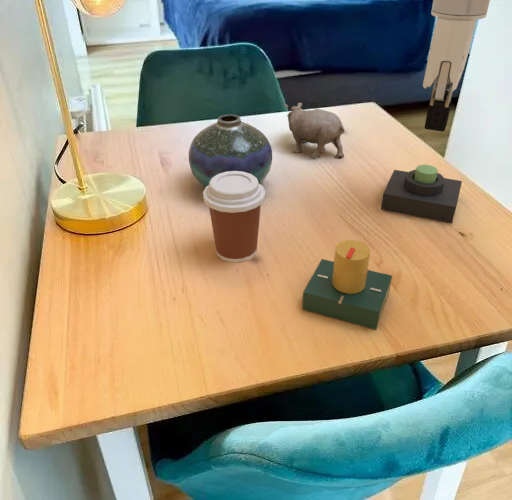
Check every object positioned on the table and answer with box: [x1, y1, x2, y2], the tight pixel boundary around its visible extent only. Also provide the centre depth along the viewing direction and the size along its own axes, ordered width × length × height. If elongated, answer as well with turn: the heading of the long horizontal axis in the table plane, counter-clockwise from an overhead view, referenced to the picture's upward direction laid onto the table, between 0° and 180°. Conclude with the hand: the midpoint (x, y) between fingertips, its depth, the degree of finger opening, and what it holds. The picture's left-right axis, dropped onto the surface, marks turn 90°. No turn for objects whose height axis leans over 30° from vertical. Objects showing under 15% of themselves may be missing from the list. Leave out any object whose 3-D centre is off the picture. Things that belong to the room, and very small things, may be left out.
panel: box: [301, 258, 393, 331], centre depth 68 cm, size 10×9×3 cm
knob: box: [332, 239, 371, 294], centre depth 66 cm, size 4×4×6 cm
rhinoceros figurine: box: [284, 102, 346, 160], centre depth 107 cm, size 8×14×15 cm
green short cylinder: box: [414, 164, 439, 184], centre depth 87 cm, size 4×4×2 cm
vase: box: [188, 113, 273, 189], centre depth 93 cm, size 15×15×13 cm
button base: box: [380, 169, 463, 224], centre depth 89 cm, size 12×10×5 cm
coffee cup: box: [202, 171, 267, 264], centre depth 76 cm, size 9×9×12 cm
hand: (435, 127), depth 82 cm, fingers closed
